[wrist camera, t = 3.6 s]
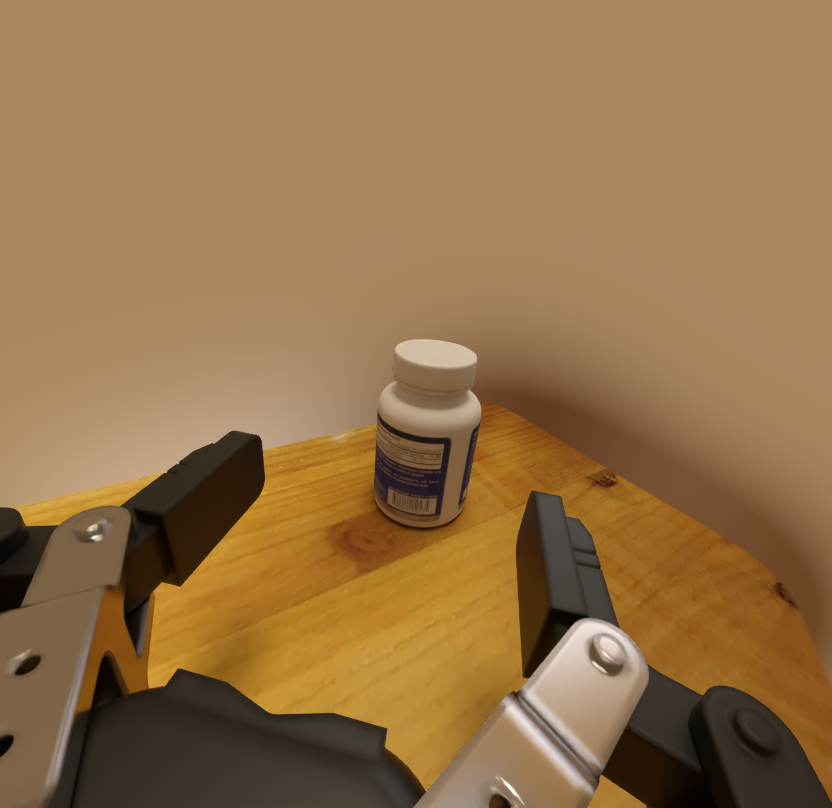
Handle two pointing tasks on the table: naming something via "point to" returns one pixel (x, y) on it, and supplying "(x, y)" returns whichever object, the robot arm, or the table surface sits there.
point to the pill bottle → (426, 433)
